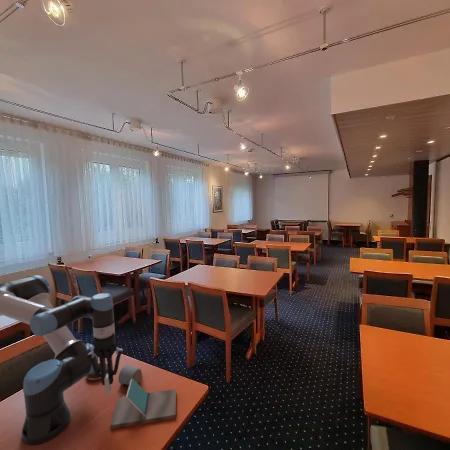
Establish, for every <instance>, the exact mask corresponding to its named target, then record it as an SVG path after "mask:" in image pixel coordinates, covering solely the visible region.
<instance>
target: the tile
mask: <svg viewBox="0 0 450 450" xmlns="http://www.w3.org/2000/svg"><path fill="white" fill-rule="evenodd" d="M147 396H148V394H147V391H145V389H144V388H142V385H141V386H140V384H139V383H137V382H136V381H135V380H134V379H133V378H132V379H131V381H130V384H129V385H128V388H127V393H126V398H127V399H128V400H129V401H130V402H131V403H132V404H133V405H134V406H135V407H136V408H137V409H138V410H139V411H140V413H141V414H142V415H143V414H144V413H145V409H146V403H147Z"/></svg>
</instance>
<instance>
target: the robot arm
mask: <svg viewBox="0 0 450 450" xmlns="http://www.w3.org/2000/svg"><path fill="white" fill-rule="evenodd" d="M50 293H51V287H50V283H49V281H48V280H47V279H46V278H45V277H44V276H42V275H38V274H37V275H36V274H35V275H30V276H26V277H24V278H23V277H22V278H19V279H15V280H11V281H7V282H2V283H0V317H1V316H4V317H8V318H9V319H13V320H15V321H18V322H21V323H24V324H27V325H29V329H30V330H31V332H32V333H33V334H34V335H35V336H36V337H44V339H45V341H46V342H47V343H48V345H49V346H50V349H51V350H52V351H53V353H54V354H55V355H54V358H52V359H48V360H46V361H42V362H40V363H38V364H36V365H34V366H32V368H31V369H30V370H28V371H27V373H26V374H25V376H24V378H23V386H22V387H23V388H22V393H23V396H24V405H25V407H24V408H25V414H26V415H25V419H24V422H23V426H22V428H21V438H22V442H23V443H24V444H26V445H31V446H35V445H40V444H43V443H46V442H49V441H51V440H53V439H54V438H56V437H57V436H59V434H61V433H62V432H63V431H64V430H65V429H66V428H67V427H68V426H69V423H70V422H71V410H70V408H69V406H68V405H67V403H66V401H65V398H64V392H65V391H67V389H68V390H69V388H71V387H72V386H74V385H75V384H77V383H78V382H80V381H81V380H82V379H84V378H85V377H86V376H88V375H89V374H90V373H91V372H92V371H93V370H94V372H95V375H96V377H97V378H98V377H101V386H104V391H105V394H104V395H110V393H111V391H112V384H113V382H114V376H116V375H117V373H118V371H119V366H120V360H121V355H122V354H123V352H124V348H123V347H121V348H119V347H118V345H117V342H116V332H115V327H116V326H115V316H114V315H115V314H114V313H115V312H114V301H113V296H112V295H111V293H108V292H106V293H105V292H104V293H101V292H100V293H97V294H95V295H93V296H92V297H91V296H86V295H75V296H73V297H72V298H71V299H70V300H69V301H68V302H66V303H64V304H60V305H58V306H55V307H54V306H53V305H52V304H51V301H50V300H49V299H50ZM84 318H87V319H91V320H92V332H93V333H92V334H93V344H92V343H89V342H87V343H85V342H83V340H82V339H76V337H75V336H74V335H73V333H72V331H70V329H69V327H68V325H70V324H72V323H74V322H76V321H78V320H81V319H84ZM114 354H116V358H115V362H114V366H113V355H114ZM98 363H100V367H99V364H98ZM106 364H107V366H108V374H106ZM113 367H114V368H113ZM100 368H101V370H100ZM86 378H87V377H86Z"/></svg>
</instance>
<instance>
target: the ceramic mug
mask: <svg viewBox="0 0 450 450" xmlns="http://www.w3.org/2000/svg"><path fill="white" fill-rule="evenodd" d="M142 376H143V372H142V370H141V368H139V367H136V366H131V365H129V364H128V365H127V364H125V365H123V366H122V367H121V369H120V370H119V374H118V377H117V378H118V383H119V384H122V385H127V386H129V384H130V381H131V379H132V378H133V379H134V380H135V381H136V382H137V383H138V384H139V383H140V381H141V379H142Z"/></svg>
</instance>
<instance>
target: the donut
mask: <svg viewBox="0 0 450 450" xmlns="http://www.w3.org/2000/svg"><path fill="white" fill-rule="evenodd" d="M98 364H99V367H100V362H98ZM100 370H101V368H100ZM106 374H108V366H107V363H106ZM86 378H87V380H89V381H98V380H102V378H101V377H98V378H97V377H96V375H95V372H94V370H93V371H92V372H91V373H90V374H89V375H88V376H86Z"/></svg>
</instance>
